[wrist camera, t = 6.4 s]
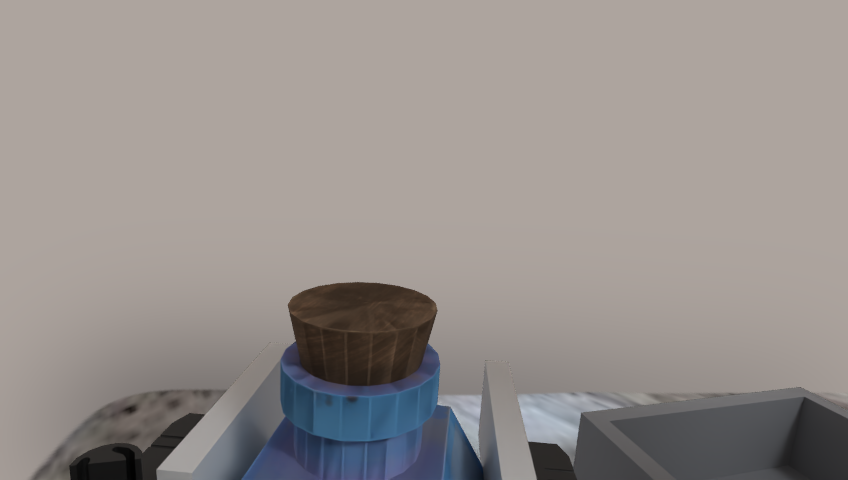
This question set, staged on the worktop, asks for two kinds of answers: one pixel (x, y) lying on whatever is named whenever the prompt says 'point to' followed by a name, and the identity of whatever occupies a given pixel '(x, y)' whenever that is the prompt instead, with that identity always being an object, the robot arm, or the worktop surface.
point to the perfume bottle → (363, 392)
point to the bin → (717, 439)
